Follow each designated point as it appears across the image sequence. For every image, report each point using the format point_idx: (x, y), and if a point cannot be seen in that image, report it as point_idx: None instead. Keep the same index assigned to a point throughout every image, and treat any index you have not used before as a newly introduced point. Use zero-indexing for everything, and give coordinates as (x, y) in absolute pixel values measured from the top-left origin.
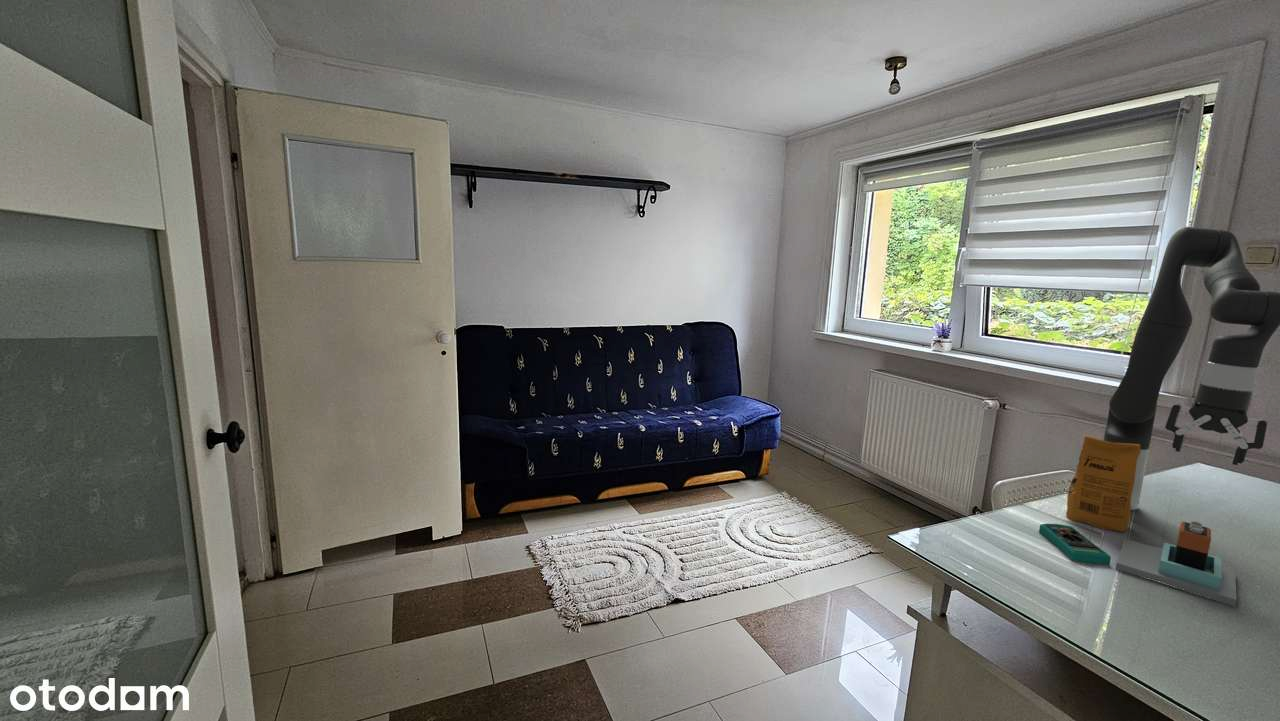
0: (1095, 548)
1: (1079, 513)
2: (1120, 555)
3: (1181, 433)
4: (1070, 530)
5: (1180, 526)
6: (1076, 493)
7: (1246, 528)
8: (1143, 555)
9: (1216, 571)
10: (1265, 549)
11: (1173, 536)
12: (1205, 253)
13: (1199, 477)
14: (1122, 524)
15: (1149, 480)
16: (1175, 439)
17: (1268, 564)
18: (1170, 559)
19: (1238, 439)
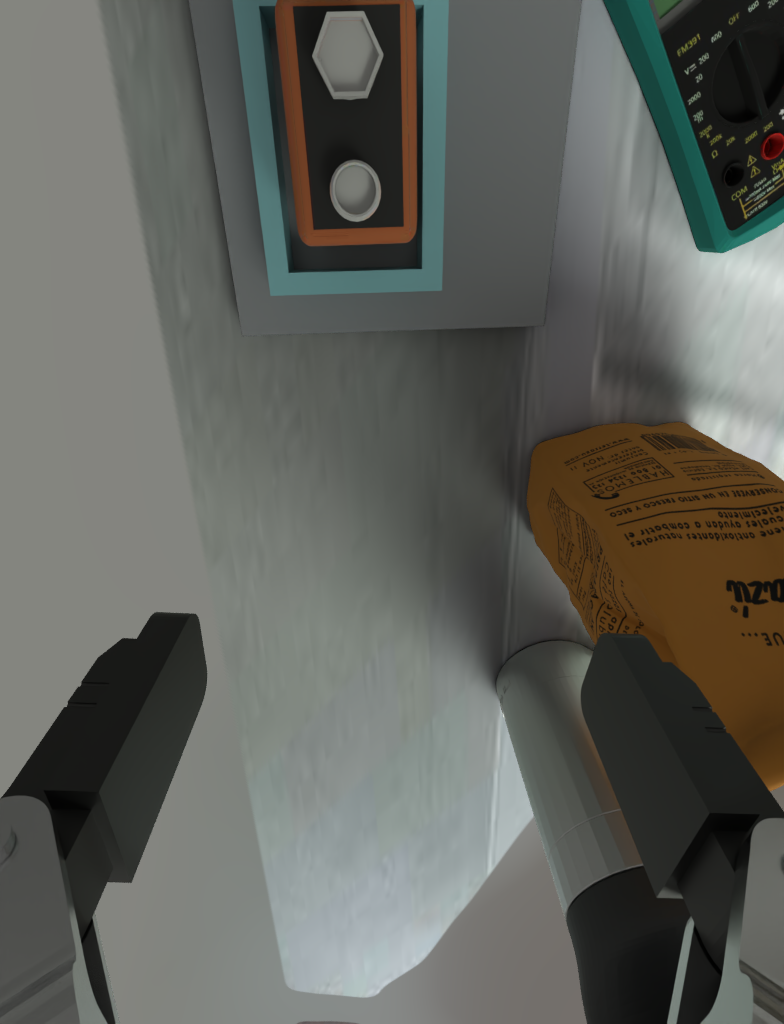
0: (666, 30)
1: (684, 430)
2: (570, 66)
3: (778, 858)
4: (740, 192)
5: (416, 155)
6: (757, 465)
7: (281, 744)
8: (491, 173)
9: (257, 65)
10: (227, 641)
11: (410, 545)
12: None
13: (388, 948)
14: (552, 453)
15: (472, 876)
16: (731, 757)
17: (202, 535)
18: None
19: (3, 981)
